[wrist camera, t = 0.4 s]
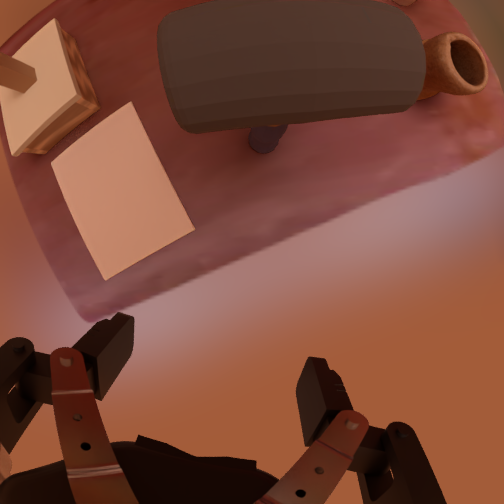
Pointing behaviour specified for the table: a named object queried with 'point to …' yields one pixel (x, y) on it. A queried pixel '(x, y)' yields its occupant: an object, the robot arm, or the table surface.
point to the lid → (36, 86)
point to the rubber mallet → (287, 64)
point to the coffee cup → (404, 2)
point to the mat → (120, 193)
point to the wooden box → (74, 112)
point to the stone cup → (453, 66)
